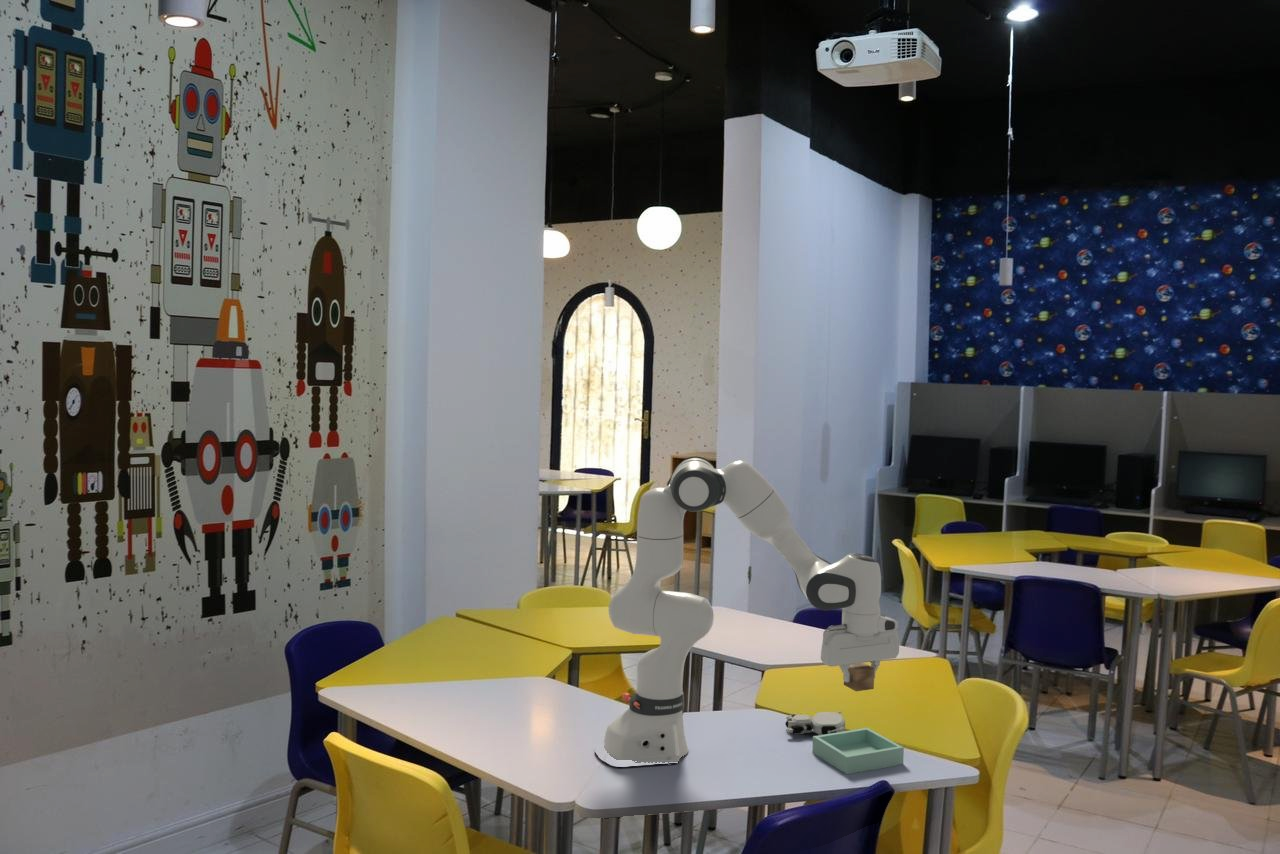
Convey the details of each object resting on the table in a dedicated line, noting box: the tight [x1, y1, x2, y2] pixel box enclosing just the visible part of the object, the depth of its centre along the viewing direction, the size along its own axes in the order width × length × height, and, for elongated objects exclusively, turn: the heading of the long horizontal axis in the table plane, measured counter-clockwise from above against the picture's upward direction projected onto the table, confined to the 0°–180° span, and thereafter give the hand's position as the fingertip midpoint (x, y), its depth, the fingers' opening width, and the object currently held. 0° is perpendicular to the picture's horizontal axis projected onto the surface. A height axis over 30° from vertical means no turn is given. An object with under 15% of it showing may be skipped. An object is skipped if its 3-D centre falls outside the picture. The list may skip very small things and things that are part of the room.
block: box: [843, 662, 875, 692], centre depth 240 cm, size 5×5×5 cm
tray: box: [812, 727, 905, 775], centre depth 241 cm, size 16×14×4 cm
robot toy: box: [785, 711, 846, 736], centre depth 258 cm, size 12×4×15 cm
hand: (859, 680), depth 240 cm, fingers closed on block, 5 cm apart
